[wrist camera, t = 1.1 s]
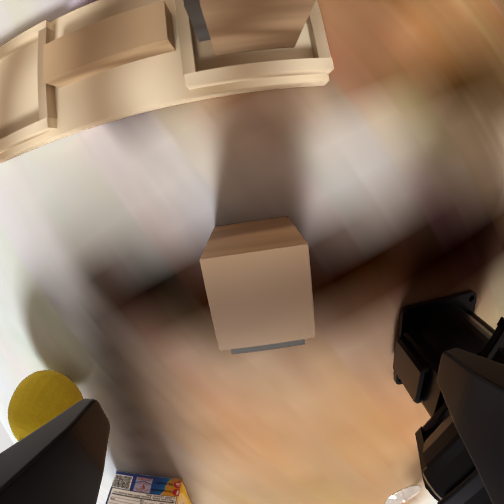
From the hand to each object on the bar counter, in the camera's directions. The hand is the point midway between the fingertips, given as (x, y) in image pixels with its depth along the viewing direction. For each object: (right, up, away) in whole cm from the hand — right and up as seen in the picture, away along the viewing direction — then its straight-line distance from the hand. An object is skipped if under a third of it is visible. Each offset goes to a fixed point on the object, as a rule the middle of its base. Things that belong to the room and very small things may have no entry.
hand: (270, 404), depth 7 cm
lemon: (-15, -6, +14) cm, 21 cm away
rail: (-8, +15, +8) cm, 18 cm away
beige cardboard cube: (0, +3, +11) cm, 12 cm away
